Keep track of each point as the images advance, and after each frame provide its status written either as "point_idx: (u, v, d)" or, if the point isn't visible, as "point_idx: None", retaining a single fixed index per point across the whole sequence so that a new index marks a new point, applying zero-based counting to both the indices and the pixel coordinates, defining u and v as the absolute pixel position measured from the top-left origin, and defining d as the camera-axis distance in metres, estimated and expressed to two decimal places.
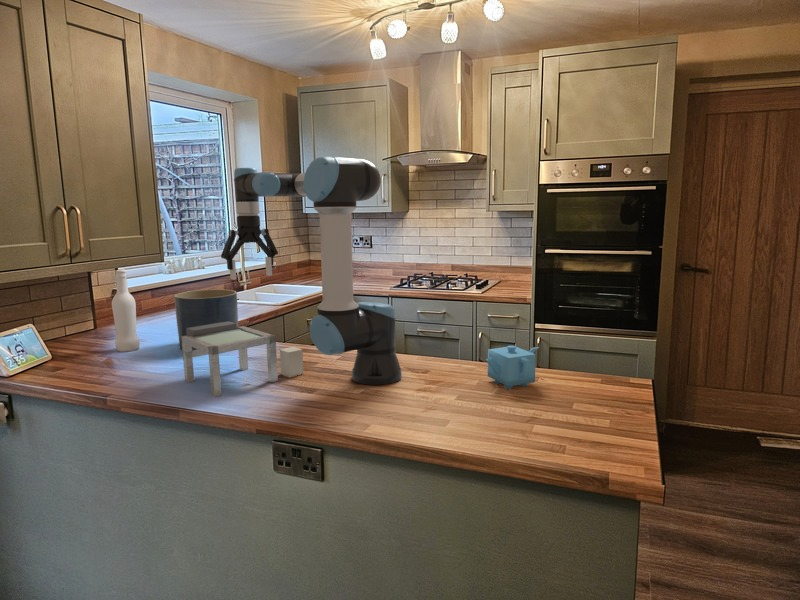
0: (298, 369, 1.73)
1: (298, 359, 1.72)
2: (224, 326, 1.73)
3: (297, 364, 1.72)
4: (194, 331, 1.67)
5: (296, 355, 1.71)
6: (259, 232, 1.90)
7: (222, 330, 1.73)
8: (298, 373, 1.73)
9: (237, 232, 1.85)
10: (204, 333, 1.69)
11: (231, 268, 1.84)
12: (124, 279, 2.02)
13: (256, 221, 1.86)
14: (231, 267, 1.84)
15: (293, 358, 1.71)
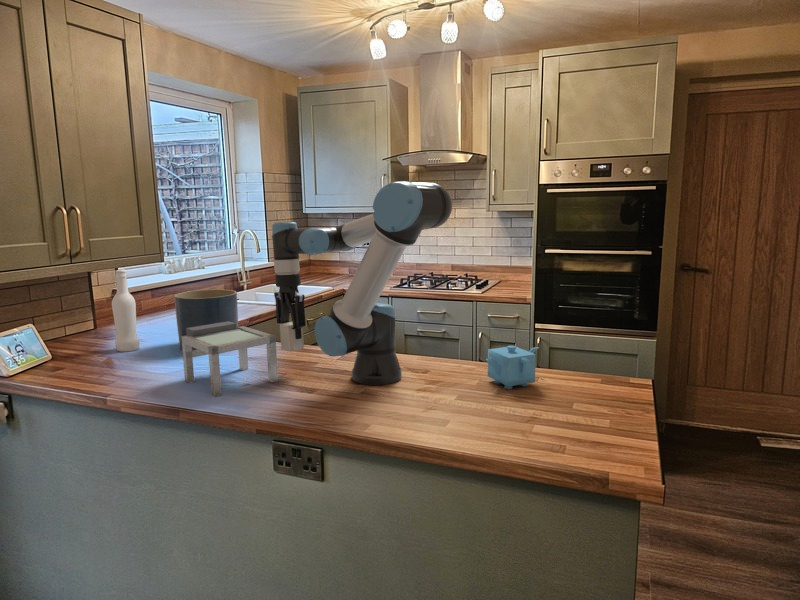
0: None
1: None
2: (224, 326, 1.73)
3: None
4: (194, 331, 1.67)
5: None
6: (291, 293, 1.67)
7: (222, 330, 1.73)
8: None
9: (279, 292, 1.73)
10: (204, 333, 1.69)
11: None
12: (124, 279, 2.02)
13: (279, 281, 1.66)
14: None
15: None
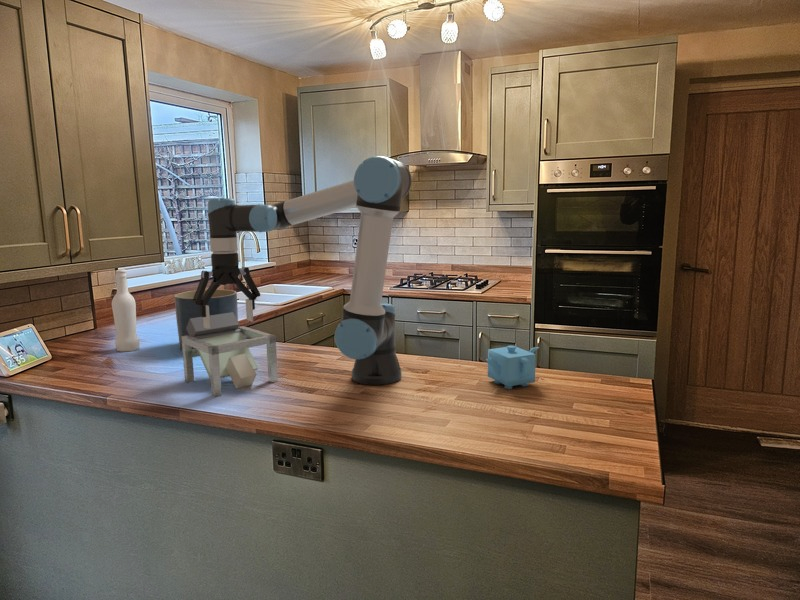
0: None
1: None
2: (227, 327, 1.72)
3: None
4: (197, 332, 1.65)
5: None
6: (238, 272, 1.63)
7: (223, 329, 1.72)
8: None
9: (211, 273, 1.58)
10: (205, 332, 1.68)
11: (204, 315, 1.58)
12: (124, 279, 2.02)
13: (234, 260, 1.59)
14: (204, 315, 1.58)
15: None
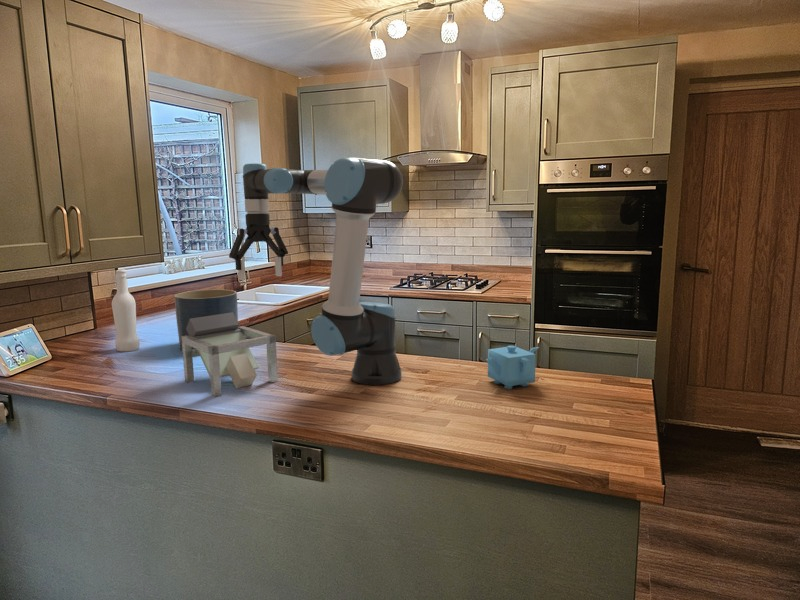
0: None
1: None
2: (227, 326, 1.72)
3: None
4: (196, 332, 1.65)
5: None
6: (269, 231, 1.82)
7: (223, 329, 1.72)
8: None
9: (246, 231, 1.77)
10: (205, 332, 1.68)
11: (240, 268, 1.77)
12: (124, 279, 2.02)
13: (266, 219, 1.78)
14: (240, 268, 1.77)
15: None
